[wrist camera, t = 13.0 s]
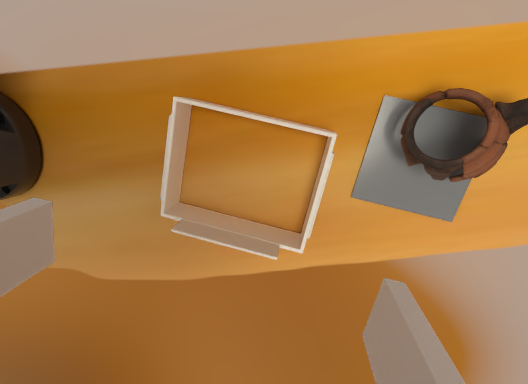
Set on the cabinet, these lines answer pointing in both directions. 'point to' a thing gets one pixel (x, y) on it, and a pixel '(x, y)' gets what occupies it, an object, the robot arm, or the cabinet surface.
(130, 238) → the cabinet surface
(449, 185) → the slate mat
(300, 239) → the carton
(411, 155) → the pottery mug
